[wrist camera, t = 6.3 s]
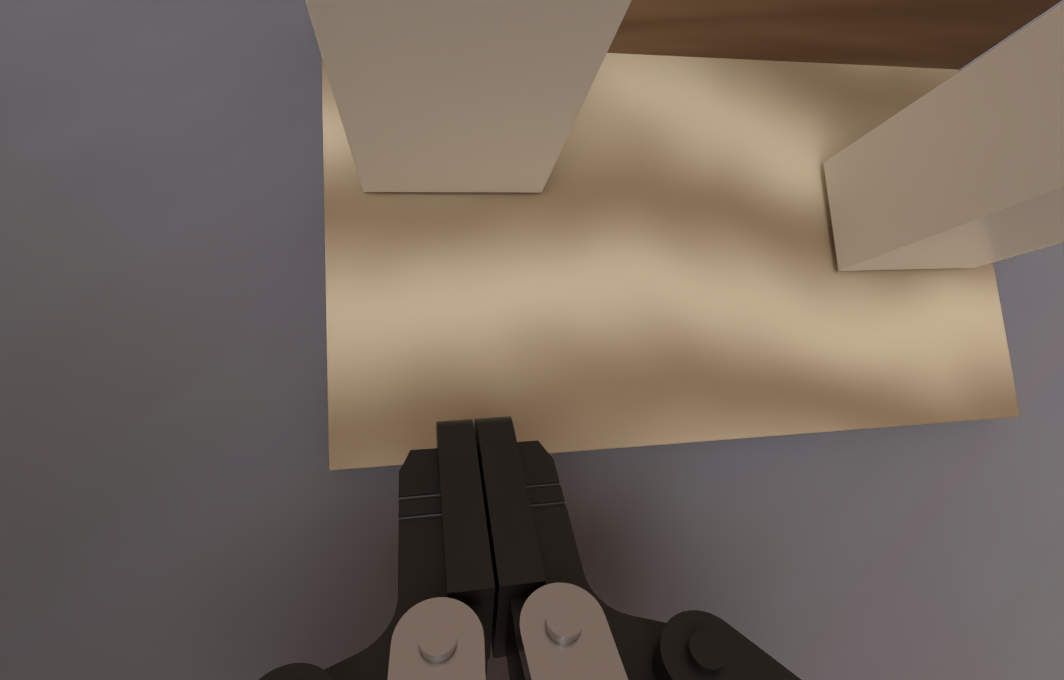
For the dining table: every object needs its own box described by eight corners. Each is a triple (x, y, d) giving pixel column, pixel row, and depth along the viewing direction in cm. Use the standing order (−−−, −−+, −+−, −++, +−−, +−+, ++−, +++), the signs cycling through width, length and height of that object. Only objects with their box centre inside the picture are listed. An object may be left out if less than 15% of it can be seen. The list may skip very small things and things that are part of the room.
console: (993, 416, 22) (1155, 414, 17) (334, 467, 18) (296, 485, 13) (931, 52, 24) (1060, -43, 19) (326, 21, 20) (290, -113, 15)
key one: (541, 192, 19) (643, -25, 10) (363, 191, 18) (289, -50, 9) (533, 78, 19) (622, -229, 10) (359, 71, 18) (287, -276, 9)
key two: (974, 267, 21) (1379, 151, 12) (838, 270, 20) (1169, 146, 11) (956, 164, 22) (1332, -22, 13) (823, 162, 21) (1127, -41, 12)
